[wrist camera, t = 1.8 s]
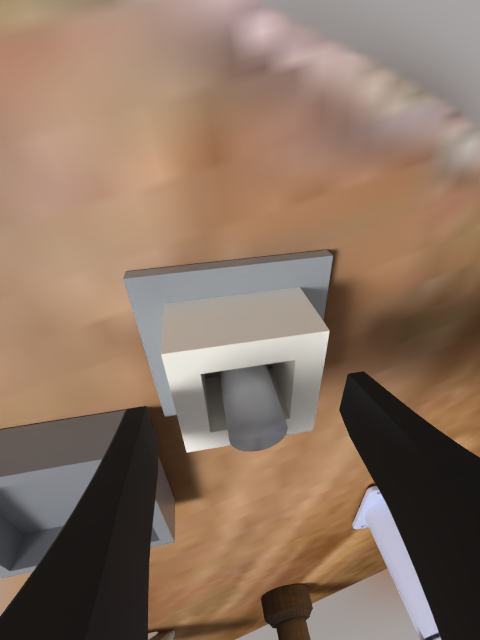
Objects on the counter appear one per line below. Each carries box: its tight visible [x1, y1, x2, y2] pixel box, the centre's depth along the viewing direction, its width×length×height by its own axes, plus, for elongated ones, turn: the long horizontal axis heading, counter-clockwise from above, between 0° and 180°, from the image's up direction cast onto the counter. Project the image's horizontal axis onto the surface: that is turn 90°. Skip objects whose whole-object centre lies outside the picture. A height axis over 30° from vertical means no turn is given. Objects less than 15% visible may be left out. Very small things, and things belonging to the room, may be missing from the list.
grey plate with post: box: [123, 250, 333, 451], centre depth 12 cm, size 8×8×5 cm
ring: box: [161, 287, 330, 453], centre depth 12 cm, size 6×6×3 cm
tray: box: [0, 410, 175, 578], centre depth 17 cm, size 11×11×3 cm
